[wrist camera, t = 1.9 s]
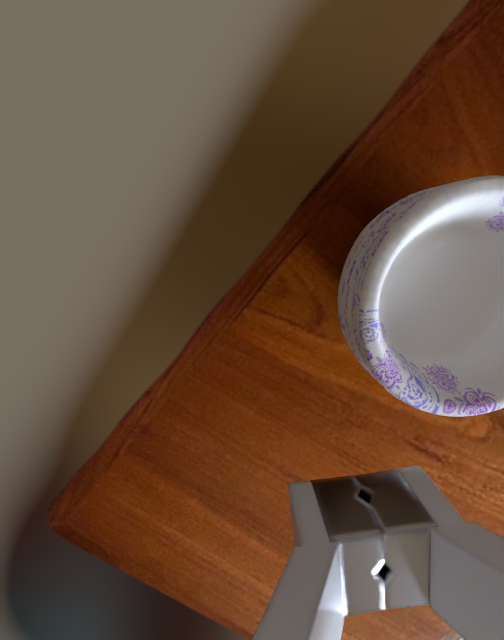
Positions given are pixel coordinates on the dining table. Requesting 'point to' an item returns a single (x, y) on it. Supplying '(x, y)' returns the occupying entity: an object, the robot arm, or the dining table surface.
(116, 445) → the dining table surface
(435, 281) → the paper bowls
